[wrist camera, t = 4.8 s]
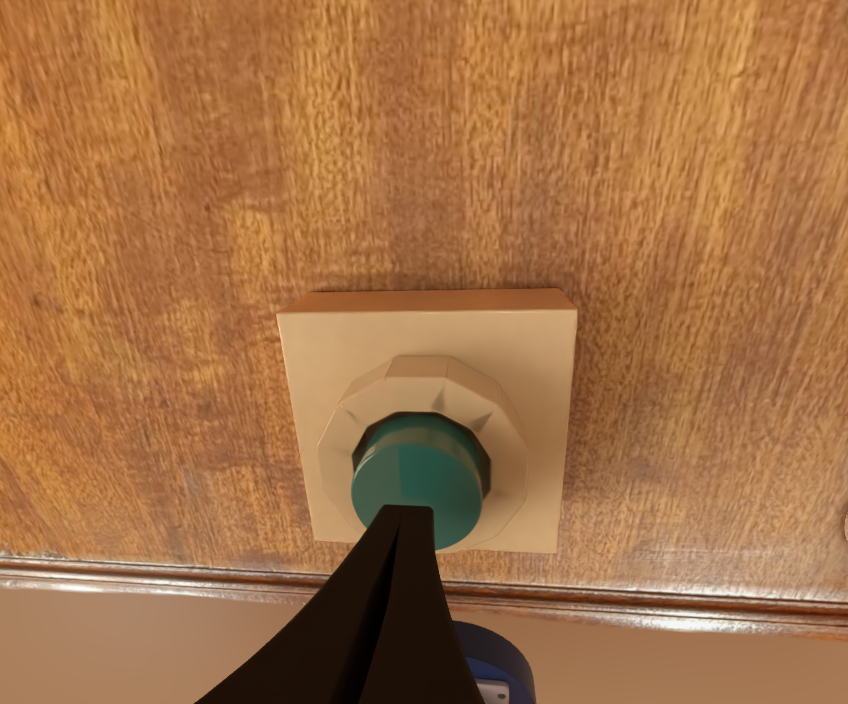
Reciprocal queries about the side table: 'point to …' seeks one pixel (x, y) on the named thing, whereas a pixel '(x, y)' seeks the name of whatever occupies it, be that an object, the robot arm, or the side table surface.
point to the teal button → (421, 475)
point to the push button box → (436, 397)
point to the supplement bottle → (846, 527)
